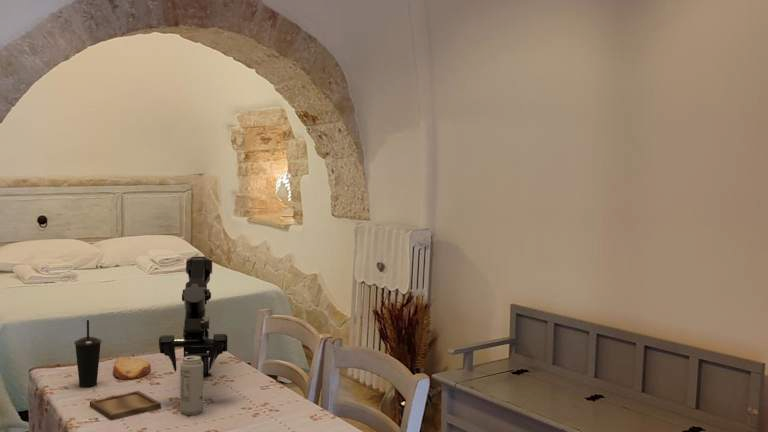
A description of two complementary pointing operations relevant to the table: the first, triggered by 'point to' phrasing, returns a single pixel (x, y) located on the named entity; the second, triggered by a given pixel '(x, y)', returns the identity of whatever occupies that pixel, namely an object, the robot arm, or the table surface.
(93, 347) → the drinking cup
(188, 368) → the energy drink can
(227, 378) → the table surface
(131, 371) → the bread slice
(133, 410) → the tray
